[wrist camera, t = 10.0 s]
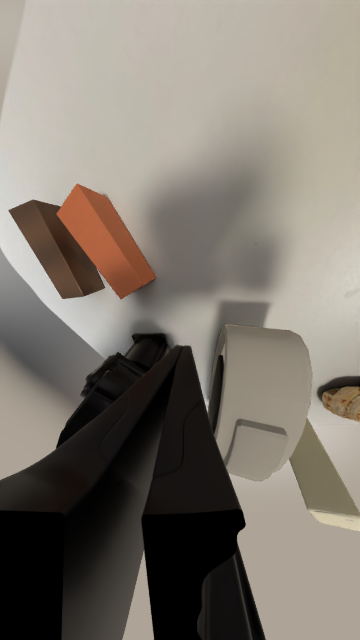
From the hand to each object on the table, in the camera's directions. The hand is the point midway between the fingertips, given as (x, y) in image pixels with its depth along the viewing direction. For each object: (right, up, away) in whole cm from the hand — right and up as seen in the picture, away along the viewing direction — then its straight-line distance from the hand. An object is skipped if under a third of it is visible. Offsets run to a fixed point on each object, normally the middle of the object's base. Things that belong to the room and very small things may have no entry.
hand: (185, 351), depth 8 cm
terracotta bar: (-8, +11, +10) cm, 17 cm away
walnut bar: (-15, +11, +12) cm, 22 cm away
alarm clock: (+9, -6, +16) cm, 19 cm away
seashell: (+27, -10, +13) cm, 32 cm away
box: (+19, -13, +17) cm, 28 cm away
